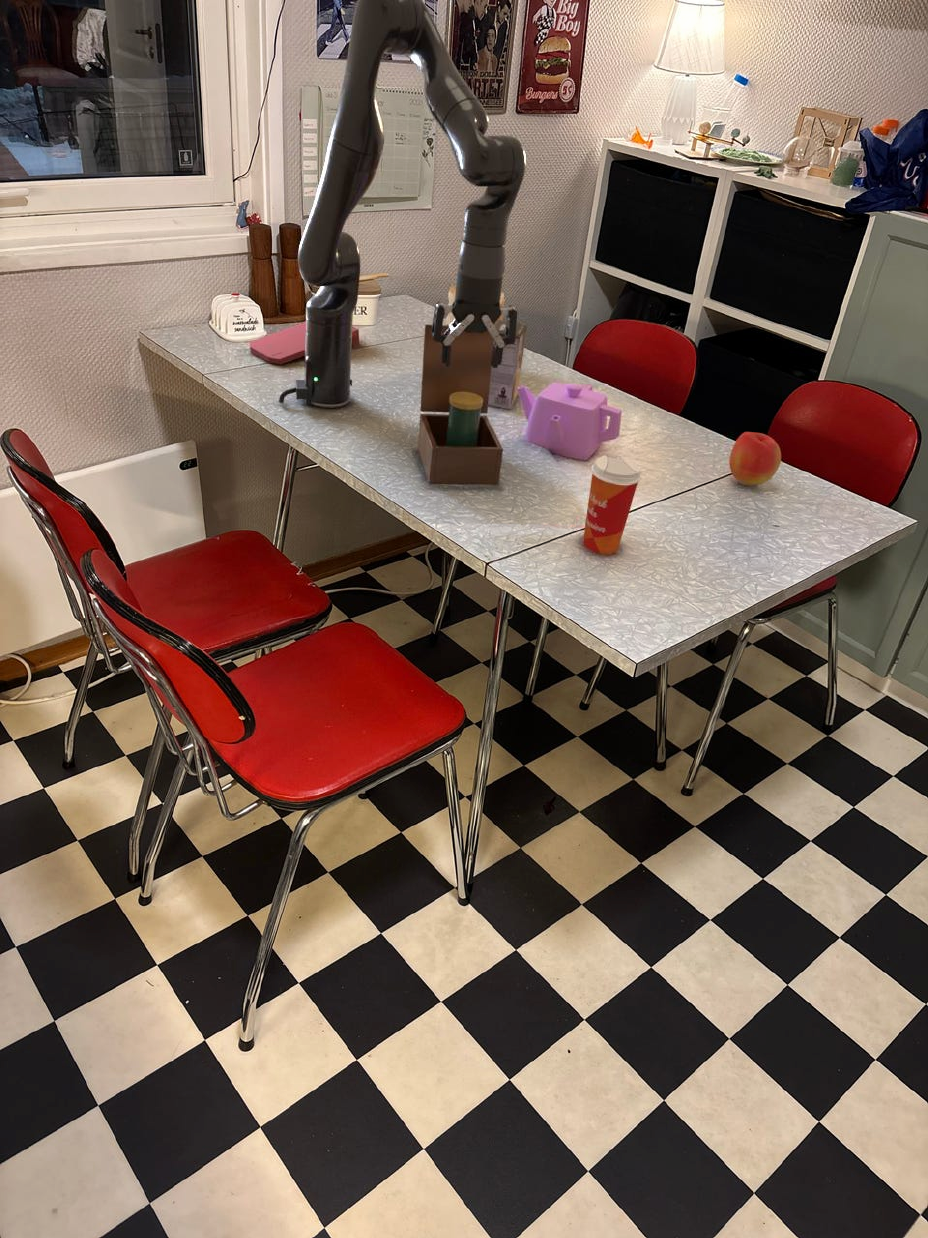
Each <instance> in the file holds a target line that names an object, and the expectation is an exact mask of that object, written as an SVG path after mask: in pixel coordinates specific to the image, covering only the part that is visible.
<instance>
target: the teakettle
mask: <svg viewBox="0 0 928 1238" xmlns="http://www.w3.org/2000/svg"><path fill="white" fill-rule="evenodd" d="M593 387H594V386H593V385H590V384H585V383H582V384H578V383H564V382H559V381H553V382H551V383H550V384H549V385H547V386H546V387H544V389H542V390H541V392H539V393H538V394H537V396H536V398H535V396H534V395H533V393H532V392H531V390H530V389H529V387H528V386H518V388H517V391H518V393H517V395H518V396H519V399H520V403H521V405H522V409H523V411H524V415H525V417H526V420H527V425H526V431H525V439H526V441H527V442H528V443H531V444H534V445H537V446H539V447H542V448H545V449H547V450H548V451H549V453H550V454H554V455H558V456H562V457H566V458H570V459H574V460H579V461H587V460H588V459H589V458H590V457H591V456H592V455H593V454H595V452H596V451H597V450H598V449H599V447H600V446H601V444H602V443H607V442H610V441H615V440H617V438H618V437H619V436H620V430H621V429H620V428H621V422H622V421H621V419H622V412H623V410H622V409H619V408H617V407H613V406H610V405H608V396H607V395H606V394H604V393H600V392H598V391H595V390H593ZM608 417H609V420H608Z"/></svg>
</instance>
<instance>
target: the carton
mask: <svg viewBox="0 0 928 1238" xmlns="http://www.w3.org/2000/svg"><path fill="white" fill-rule="evenodd" d="M360 344H361V343H360V332H359V328H357V327H355V326H353V325H352V348H355V347H358V346H360ZM249 348H250V353H251V354H253V355H255V356H257V357H258V358H261V359H262V360H263V361H265V362H266V363H267V362H268V363H269V364H275V365H283V364H286V363H288V362H291V361H295V360H296V359H299V358H303V357H305V350H306V321H304V322H302V323H299V324H296V325H292V326H290V327H287V328H285V329H282V330H279V331H275V332H273V333H270V334H268V335H264V336H262V337H259V338H256V339H253V340H250V341H249Z"/></svg>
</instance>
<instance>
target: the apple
mask: <svg viewBox="0 0 928 1238" xmlns="http://www.w3.org/2000/svg"><path fill="white" fill-rule="evenodd" d="M728 461H729V463H728V464H729V469H730V472H731V475H732V476H733V478H734V479H735V480H736V481H737V482H739V483H740V484H742V485H744V486H752V487H753V486H759V485H763V484H764V483H767V482H768V481H769V480H771V479H772V478H773V476H775V474H776V473H777V471H778V470H779V468H780V466H781V462H782V452H781V447H780V445H779V444H778V443H777V442H776V441H775V439H774V438H773V437H770V436H769V435H767V434H764V433H760V432H754V431H753V432H752V431H744V432H743V433H741V435H739V437H738V438H737V439H736V441H735V442H734V443H733V446H732V449H731V451H730V455H729V460H728Z"/></svg>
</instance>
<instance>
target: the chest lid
mask: <svg viewBox="0 0 928 1238" xmlns="http://www.w3.org/2000/svg"><path fill="white" fill-rule="evenodd" d="M448 328H449V325H447V324H443V325H442V331H441V333H442V334H444V332H445V331H446V330H447V329H448ZM431 331H432V324H429V323H428V324H427V323H425V324H424V334H423V354H422V372H421V373H422V375H421V389H420V390H421V391H420V409H419V410H420V412H422V413H449V408H450V402H449V400H450V395H451V394H452V393H455V392H470V393H474V394H477V395H479V396H481V397H482V399H483V403H482V407H481V412H480V414H488V411H489V405H488V401H489V389H490V377H491V366H492V365H491V360H492V352H493V342H494V339H493V337H492V335H491V334H490V332H489V330H488V331H486V332H484V333H477V332H472V333H466V332H465V331H462V333H461V334H460V335H459V336H458V337H456V338H455V339H454V340H453V341H452V342H451V343H450V345H451V355H450V365H449V367H445V365H444V363H442V361H441V358H440V354H441V343H440V342H436V341H434V339H433V337H432V335H431Z"/></svg>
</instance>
